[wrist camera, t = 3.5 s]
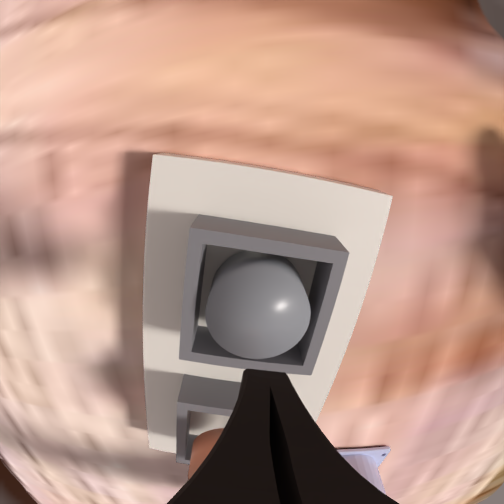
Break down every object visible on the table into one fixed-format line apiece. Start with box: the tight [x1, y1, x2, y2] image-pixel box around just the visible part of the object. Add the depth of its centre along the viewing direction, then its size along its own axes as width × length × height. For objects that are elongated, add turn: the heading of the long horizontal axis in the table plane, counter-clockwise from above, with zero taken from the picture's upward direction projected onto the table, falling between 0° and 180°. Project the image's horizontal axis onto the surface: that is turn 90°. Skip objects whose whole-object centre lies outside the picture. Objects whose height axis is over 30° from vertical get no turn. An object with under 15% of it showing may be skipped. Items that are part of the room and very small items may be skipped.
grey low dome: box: [205, 250, 311, 359], centre depth 15 cm, size 5×5×2 cm
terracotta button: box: [188, 428, 224, 480], centre depth 16 cm, size 5×5×2 cm
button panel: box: [143, 153, 393, 465], centre depth 18 cm, size 22×12×4 cm, turn 171°
